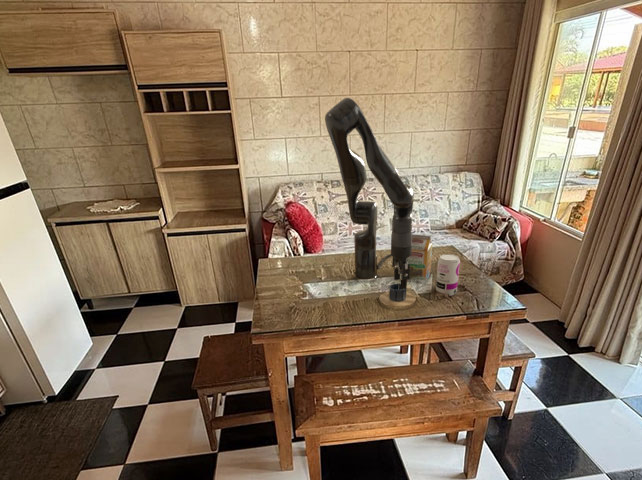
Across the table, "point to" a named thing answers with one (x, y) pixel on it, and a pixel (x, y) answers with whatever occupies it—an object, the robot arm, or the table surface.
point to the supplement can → (447, 274)
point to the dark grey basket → (397, 292)
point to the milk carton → (420, 257)
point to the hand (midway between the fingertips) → (400, 283)
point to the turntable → (385, 299)
